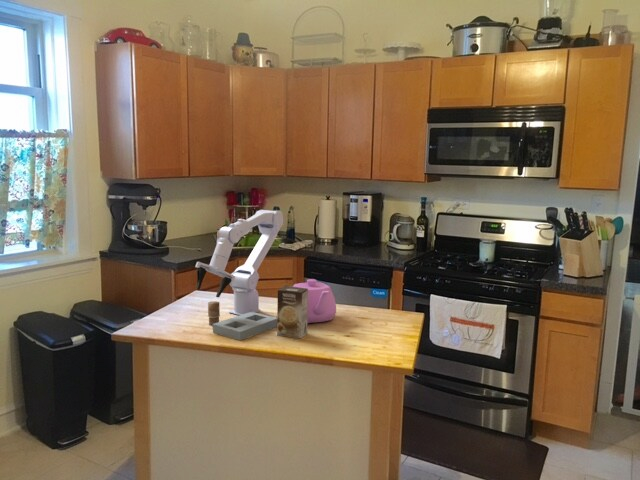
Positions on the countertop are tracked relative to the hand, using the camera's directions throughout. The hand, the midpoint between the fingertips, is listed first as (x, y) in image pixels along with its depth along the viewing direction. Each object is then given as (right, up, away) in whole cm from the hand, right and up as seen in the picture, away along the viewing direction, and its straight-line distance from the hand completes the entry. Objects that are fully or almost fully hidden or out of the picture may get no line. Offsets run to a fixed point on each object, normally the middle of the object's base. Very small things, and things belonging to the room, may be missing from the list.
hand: (207, 293), depth 188 cm
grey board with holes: (+14, -12, -2) cm, 19 cm away
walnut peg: (+2, -12, +3) cm, 12 cm away
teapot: (+37, -11, +11) cm, 40 cm away
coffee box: (+30, -14, -6) cm, 34 cm away
